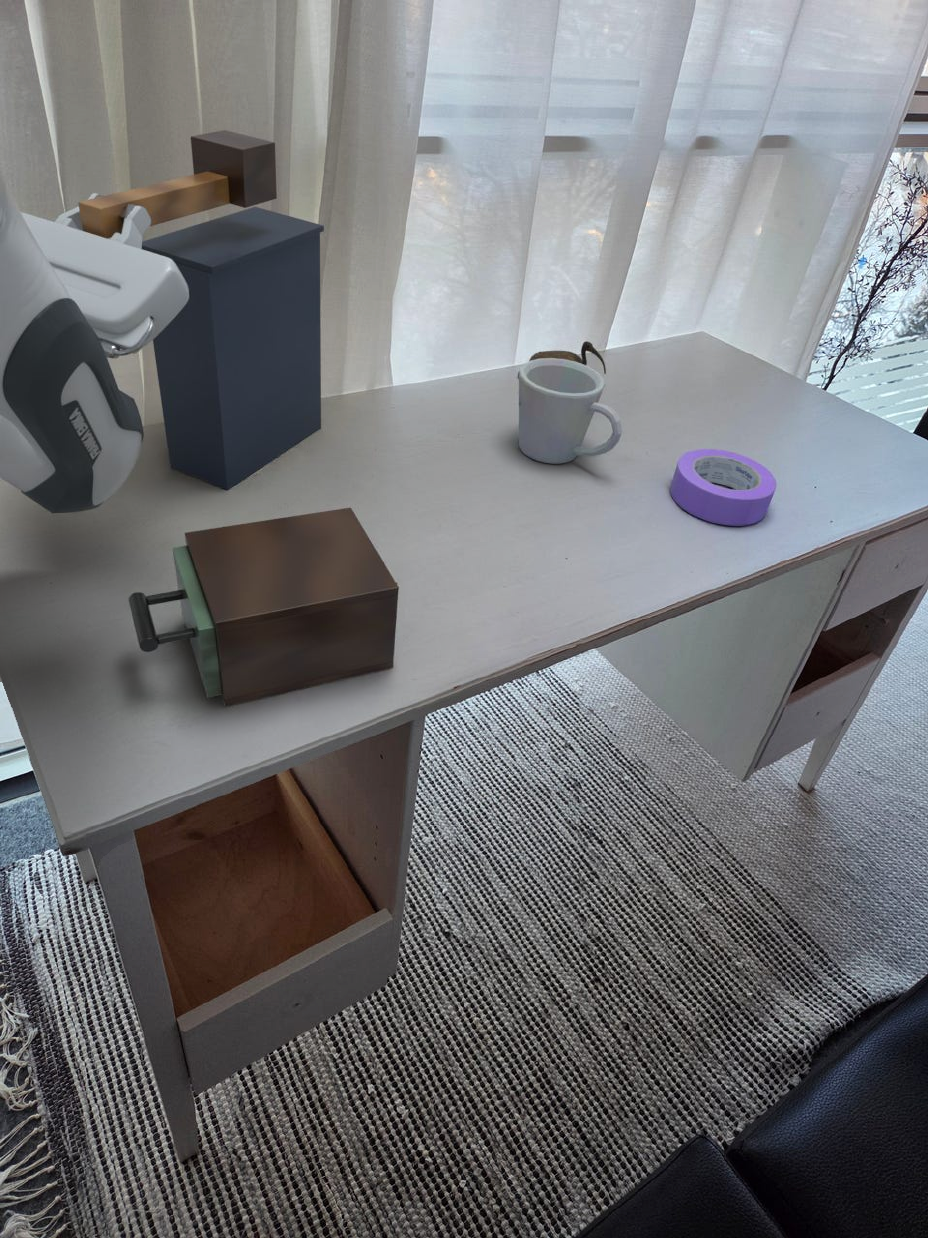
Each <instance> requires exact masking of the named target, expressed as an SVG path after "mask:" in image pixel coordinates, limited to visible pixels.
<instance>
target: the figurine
mask: <svg viewBox="0 0 928 1238" xmlns="http://www.w3.org/2000/svg"><path fill="white" fill-rule="evenodd" d="M587 352H589V353H591V354H592V355H594V356H596V357H597V358H598V360H600V362H601V364H602V366H603V374H604V375H606V374H607V371H606V369H607V368H606V363H605V361H604V359H603V357H602V355H601V354H600V353H599V351H598V350H597V349H596V348H595V347H594V346H593V343H591V341H588V340H587V341H584V342H583V343H582V345H581V349H580V355H581V356H580V355H578V354H577V353H575V352H572V351H569V350H545V351H538V352H535V353H534V354H532V355H531V356H530V358H529V360H528V362H529V361H531V360H536V359H541V358H557V359H565V360H570V361H574V362H578V363H581V364H583V365H586V366H588V365H587V364H588V363H587V362H588V361H587ZM517 378H519V371H518V372H517Z"/></svg>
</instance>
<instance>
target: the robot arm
mask: <svg viewBox="0 0 928 1238" xmlns="http://www.w3.org/2000/svg"><path fill="white" fill-rule="evenodd" d="M4 175H5V174H4V172H3V169H2V164H1V163H0V479H1V480H3V481H5V482H6V483H7V484H10V485H11V486H13V487H15V488H17V489H18V490H20V492H21V493H22V494H23V495H24V496H26V497H28V498H29V499H30V500H32V501H33V502H35V503H36V504H38V505H39V506H41V507H42V508H43V509H45V510H47V511H48V512H49V513H51V514H69V513H70V514H71V513H72V514H73V513H80V512H85V511H90V510H93V509H96V508H99V507H100V506H101V505H103V504H104V503H105V502H106V501H107V500H109V499H110V498H111V497H112V496H114V495H115V494H116V493H117V492H118V491H119V489H120V488H121V487H122V486H123V485H124V483H126V481H127V479H128V478H129V476H130V475H131V473H132V471H133V470H134V468H135V466H136V463H137V462H138V459H139V456H140V453H141V449H142V444H143V441H144V438H145V436H144V435H145V432H144V427H143V421H142V418H141V414H140V411H139V407H138V405H137V403H136V400H135V398H134V397H132V396H131V395H129V394H127V393H126V392H124V391H122V390H120V388H119V386H118V384H117V381H116V378H115V375H114V373H113V370H112V368H111V367H112V366H111V365H110V362H109V360H108V358H109V359H114V360H115V359H118V358H119V357H121V356H122V357H123V356H129V355H131V354H133V355H134V354H137V353H139V352H140V351H141V350H142V349H143V348H144V347H146V346H147V345H148V344H150V343H151V342H153V339H154V338H155V337H156V336H157V335H158V334H159V333H161V332H162V331H163V330H164V328H165V327H166V326H167V325H168V324H169V323H170V322H171V321H172V320H173V319H174V318H175V317H176V316H177V314H178V313H179V312H180V311H181V310H182V308H183V307H184V306H185V305H186V303H187V302H188V300H189V289H188V285H187V283H186V281H185V279H184V277H183V275H182V274H181V272H180V270H179V269H178V267H177V265H176V264H175V262H174V261H173V260H172V259H170V258H168V257H165V256H162V255H158V254H155V253H152V252H149V251H146V250H142V241H143V236H144V234H145V233H146V231H147V230H148V229H149V228H150V227H151V226H150V225H151V218H150V216H149V214H148V213H147V211H146V209H145V208H144V207H141V206H138V205H134V204H131V203H130V204H127V205H126V206H125V209H123V210H122V211H121V213H120V214H119V215H118V216H119V218H120V220H121V221H122V223H123V229H122V234H120V233H115V234H114V235H113V236H112V237H111V238H108V239H107V238H103V237H100V236H97V235H94V234H91V233H87V232H84V231H83V229H82V223H81V217H80V211H79V205H78V206H77V207H74V208H72V209H70V210H68V211H66V212H63V213H61V214H60V215H59V216H58V217H57V218H56V219H55V220H54V221H51V220H49V219H45V218H41V217H39V216H35V215H33V214H30V213H26V212H23V211H21V210H20V207H18V204H17V202H16V200H15V198H14V196H13V194H12V192H11V190H10V187H9V185H8V183H7V181H6V178H5V176H4ZM102 196H104V195H103V194H100V193H97V192H93V193H92V194H91V195H90V196H88V199H87V200H89V199H93V198H98V197H102ZM149 226H150V227H149Z"/></svg>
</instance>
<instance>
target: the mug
mask: <svg viewBox="0 0 928 1238" xmlns="http://www.w3.org/2000/svg"><path fill="white" fill-rule="evenodd" d="M518 372H519V377H518V446H519V449H520V451H521V452H522V453H523V454H524V455H526V457H528V458H529V459H533V460H535V461H537V462H540V463H545V464H552V465H553V464H554V465H558V464H566V463H569V462H571V461H573V460H574V459H576V457H577V456H578V455H579V456H585V457H596V456H600V455H603V454H607V453H608V452H610V451H612V450H613V449H614V448H615V447H616V445H617V444H618V443H619V441H620V439H621V437H622V434H623V429H622V421H621V418H620V416H619V415H618V413H617V412H616V411H615V410H614V409H613V408H611V406H608V405H607V404H605V403H600V400H601V397H602V394H603V392H604V390H605V387H606V383H605V379H604V377H603V376H602V375H601V374H600V373H599V372H598V371H597V370H596V369H593V368H592V367H591V366H588V365H583V364H581V363H578V362H574V361H570V360H565V359H557V358H541V359H536V360H531V361H529V360H528V361H527V362H525V363H523V364H522V365H521V366H520V368H519V370H518ZM595 413H599V414H602V415H603V416H605V417H606V418H607V419H608V421H609V422H610V425H611V430H612V432H611V435H610V437H609V438H608V439H607V441H605V442H603V443H602V444H599V445H595V446H582V444H583V442H584V440H585V437H586V434H587V432H588V429H589V426H590V424H591V421H592V419H593V416H594V415H595Z"/></svg>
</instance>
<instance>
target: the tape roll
mask: <svg viewBox="0 0 928 1238" xmlns="http://www.w3.org/2000/svg"><path fill="white" fill-rule="evenodd" d="M716 484H718V485H716ZM720 485H723V486H720ZM724 486H725V487H724ZM726 487H728V488H726ZM776 489H777V480H776V478H775V476H774V474H773V473H772V472H771V471H770V470H769V469H768V468H767V467H765V465H763V464H761V463H760V462H758V461H756V460H754V459H752V458H750V457H748V456H745V455H742V454H739V453H736V452H732V451H728V450H724V449H715V448H714V449H713V448H700V449H694V450H689V451H687V452H685V453H683V454H682V455H681V456H680V457H679V458H678V461H677V463H676V467H675V470H674V474H673V478H672V480H671V483H670V487H669V492H670V496H671V498H672V500H673V501H674V502H675V503H676V504H677V505H678V506H679V507H680V508H681V509H682V510H683V511H685V512H687V513H689V514H690V515H692V516H694V517H696V518H699V519H701V520H704V521H706V522H708V523H713V524H718V525H723V526H728V527H729V526H732V527H744V526H749V525H754V524H756V523H758V522H760V521H762V520H763V519H764V518H765V516H766V515H767V512H768V510H769V507H770V504H771V502H772V499H773V496H774V494H775V492H776Z"/></svg>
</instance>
